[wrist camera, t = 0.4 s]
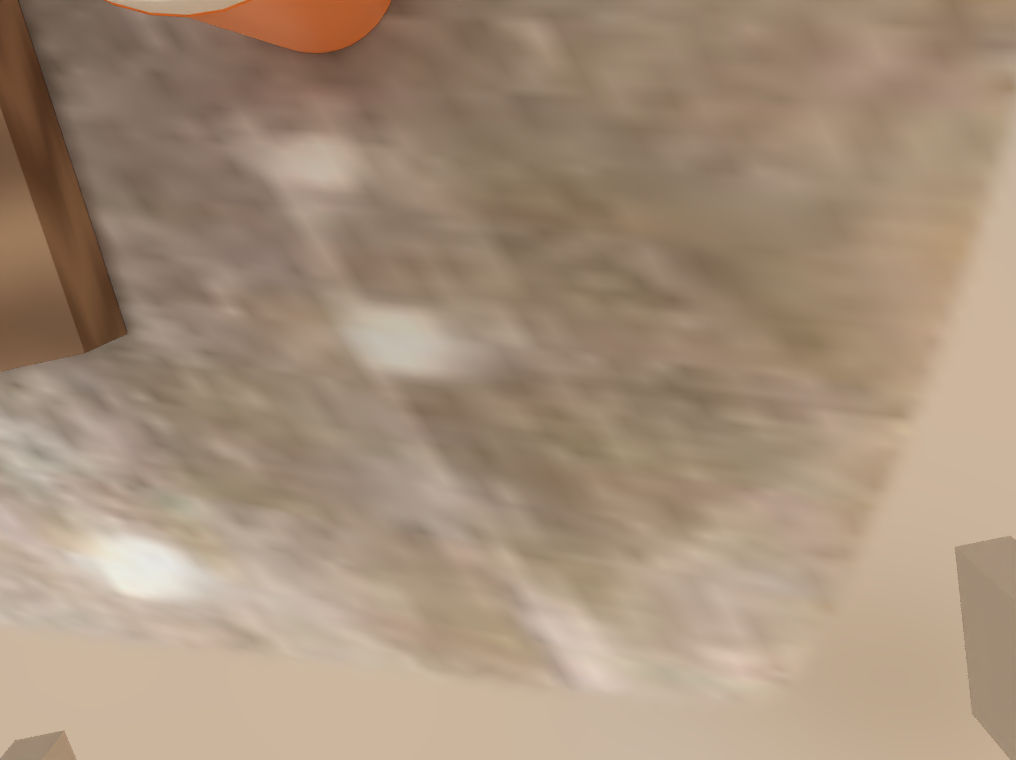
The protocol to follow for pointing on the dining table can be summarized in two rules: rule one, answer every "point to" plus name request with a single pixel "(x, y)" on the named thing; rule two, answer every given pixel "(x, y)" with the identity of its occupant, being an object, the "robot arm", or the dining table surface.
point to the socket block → (43, 223)
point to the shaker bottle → (278, 19)
